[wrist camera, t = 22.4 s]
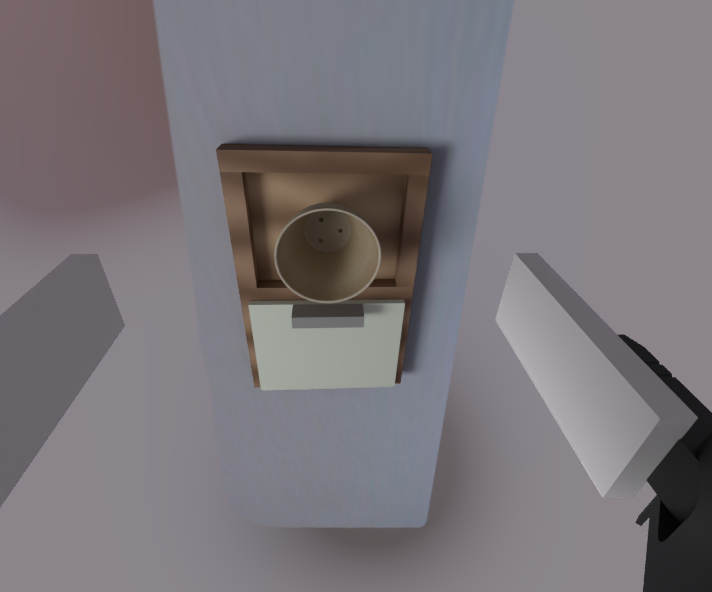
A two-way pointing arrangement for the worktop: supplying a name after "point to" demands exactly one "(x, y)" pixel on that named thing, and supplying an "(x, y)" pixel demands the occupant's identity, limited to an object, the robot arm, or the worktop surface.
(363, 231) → the flower pot
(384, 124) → the worktop surface
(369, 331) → the lid
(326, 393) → the worktop surface
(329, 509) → the worktop surface
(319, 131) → the worktop surface
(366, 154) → the wooden box
